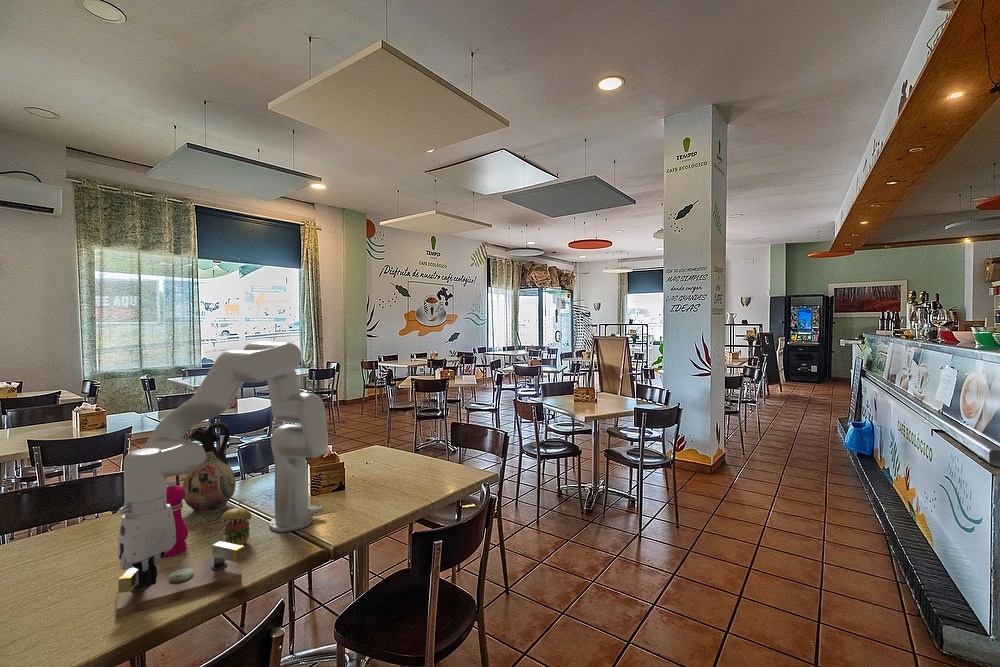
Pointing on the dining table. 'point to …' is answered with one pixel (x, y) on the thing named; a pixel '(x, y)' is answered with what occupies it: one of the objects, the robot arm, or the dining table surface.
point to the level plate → (179, 585)
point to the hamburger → (236, 525)
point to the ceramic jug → (210, 474)
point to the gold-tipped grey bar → (226, 553)
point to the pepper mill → (177, 517)
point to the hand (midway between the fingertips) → (148, 584)
